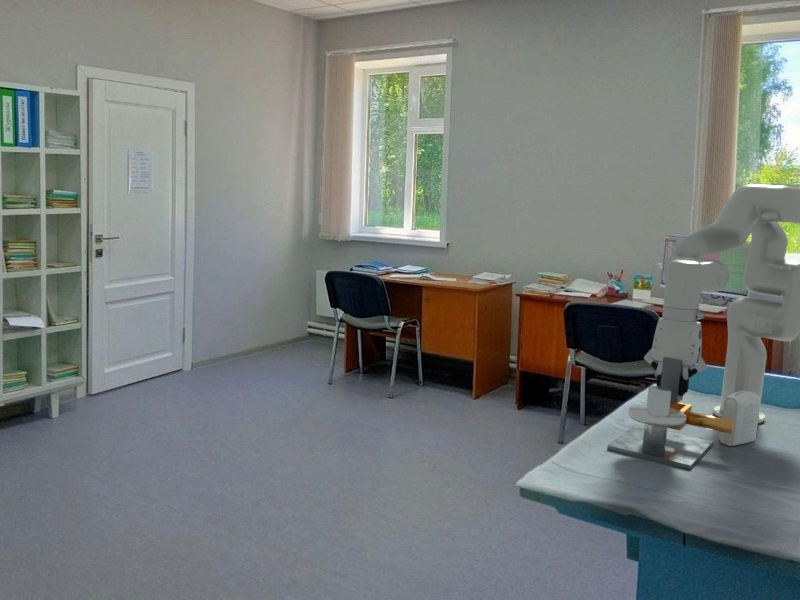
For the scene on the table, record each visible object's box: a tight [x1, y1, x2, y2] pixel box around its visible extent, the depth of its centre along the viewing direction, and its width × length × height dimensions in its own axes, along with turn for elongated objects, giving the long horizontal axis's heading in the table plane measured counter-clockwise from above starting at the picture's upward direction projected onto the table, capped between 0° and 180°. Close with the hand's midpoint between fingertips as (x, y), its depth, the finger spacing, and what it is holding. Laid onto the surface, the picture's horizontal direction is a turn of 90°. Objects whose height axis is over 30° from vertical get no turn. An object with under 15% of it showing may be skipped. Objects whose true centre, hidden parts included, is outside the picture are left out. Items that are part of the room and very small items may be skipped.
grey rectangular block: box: [660, 358, 684, 404], centre depth 173 cm, size 5×4×10 cm
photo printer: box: [719, 391, 761, 447], centre depth 177 cm, size 10×4×12 cm, turn 123°
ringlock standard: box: [606, 385, 734, 471], centre depth 169 cm, size 22×23×15 cm
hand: (671, 392), depth 173 cm, fingers closed on grey rectangular block, 4 cm apart
